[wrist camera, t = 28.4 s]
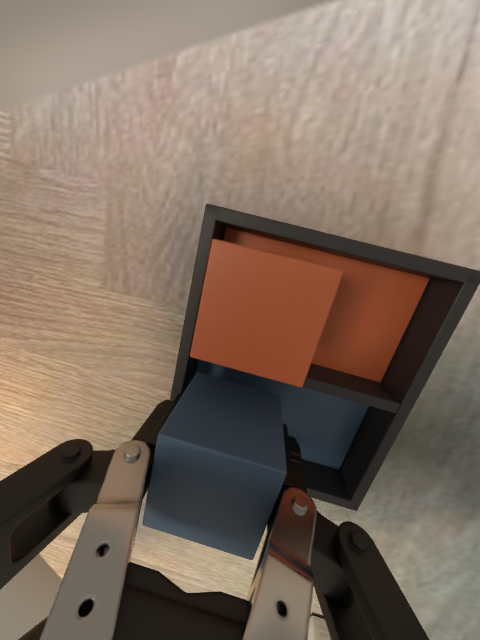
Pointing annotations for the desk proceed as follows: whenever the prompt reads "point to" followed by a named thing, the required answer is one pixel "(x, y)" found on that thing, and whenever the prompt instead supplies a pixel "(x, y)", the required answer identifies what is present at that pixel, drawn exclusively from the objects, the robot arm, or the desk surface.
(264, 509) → the slate block
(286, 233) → the sorting tray
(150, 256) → the desk surface
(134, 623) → the robot arm
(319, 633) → the ink box
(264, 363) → the terracotta block
